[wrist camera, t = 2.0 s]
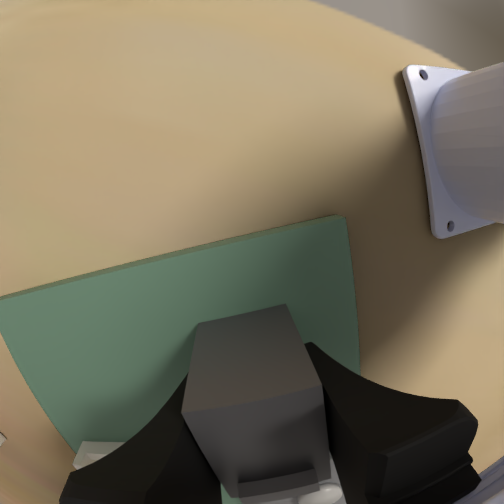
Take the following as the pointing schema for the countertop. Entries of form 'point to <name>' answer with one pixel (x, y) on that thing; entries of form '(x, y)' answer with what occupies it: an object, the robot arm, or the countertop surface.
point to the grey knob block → (320, 492)
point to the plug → (257, 406)
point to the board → (170, 324)
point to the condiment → (2, 439)
